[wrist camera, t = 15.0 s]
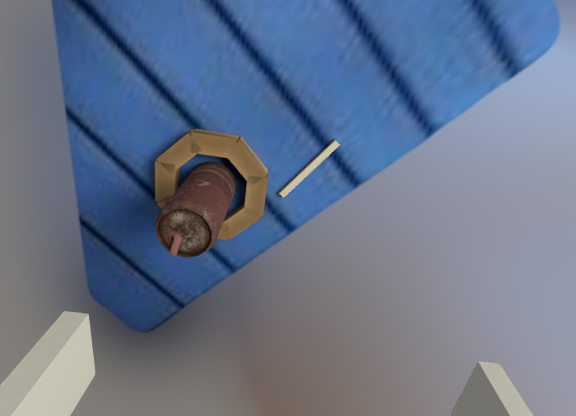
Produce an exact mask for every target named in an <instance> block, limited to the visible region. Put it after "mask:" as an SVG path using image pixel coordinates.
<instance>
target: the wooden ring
mask: <svg viewBox="0 0 576 416" xmlns="http://www.w3.org/2000/svg"><path fill="white" fill-rule="evenodd" d="M238 138H239V135H234V134H227V133H220V132H214V131H207V130H200V129H195V130H191V131H190V132H189V133H188V134H186V135H185V136H184V137H183V138H181V139H180V140H179V141H178V142H177V143H175V144H174V145H173V146H172V147H170V148H169V149H168V150H167V151H165V152H164V153H163V154H162V155H160V156H159V157H158V158H157V159H156V161H155V201H157V202H158V203H157V205H158V206H159V207H160V208H161V209H162V208H163V207H164V206H165V204H166V203H167V202H168V201H169V199H170V198H171V197H172V196H173V194H174V193H175V192H176V191H177V190H178V188H179V187H180V167H181V166H182V165H183V164H185V163H186V162H187V161H189V160H190V159H191V158H192V157H194V156H195V155H196V154H203V155H210V156H217V157H224V158H228V159H229V160H230V161H231V162H232V164H233V165H234V166H235V167H236V168H237V170H238V171H239V172H240V173H241V174H242V176H243V177H244V178H245V179H246V180H247V188H246V197H245V203H244V204H242V205H241V206H239V207H238V208H236V209H235V210H234V211H232V212H231V213H229V214H228V215H226V217H225V219H224V222H223V224H222V227H221V229H220V232H219V234H218V237H217V238H218V239H225V240H228V238H229V239H231V238H233V237H234V236H236V235H237V234H239V233H240V232H242V231H243V230H245V229H246V228H248V227H249V226H251V225H252V224H254V223H255V222H257V221H258V220H260V219H261V217H262V216H263V211H264V204H265V197H266V189H267V182H268V174H269V173H268V169H267V168H266V167H265V166H264V164H263V163H262V162H261V161H260V159H259V158H258V157H257V156H256V154H255V153H254V152H253V151H252V149H251V148H250V147H249V146H248V144H247V143H246V142H245V141H244V139H243V138H242V137H241V138H239V139H238Z"/></svg>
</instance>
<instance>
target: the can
mask: <svg viewBox="0 0 576 416" xmlns="http://www.w3.org/2000/svg"><path fill="white" fill-rule="evenodd" d="M235 191H236V180H235V178H234V175H233V174H232V172H231V171H230V170H229V169H228V168H227V167H225V166H224V165H222V164H219V163H216V162H206V163H202V164H200V165H198V166H197V167H196V168H195V169H194V170H193V171H192V172H191V173H190V175H189V176H188V177H187V178H186V180H185V181H184V182H183V183H182V185H181V186H180V187H179V188H178V190H177V191H176V192H175V193H174V194H173V196H172V197H171V198H170V199H169V201H168V202H167V203H166V204H165V206H164V207H163V208H162V209H161V211H160V212H159V214H158V215H157V219H156V234H157V238H158V240H159V242H160V243H161V245H162V246H163V247H164V248H165V249H166V250H167V251H169V252H170V255H171V256H176V255H177V256H181V257H194V256H198V255H200V254H202V253H204V252H206V251H207V250H209V249H210V248H211V247H212V246H213V244H214V243H215V242H216V239H217V237H218V234H219V232H220V229H221V227H222V224H223V222H224V219H225V217H226V214H227V212H228V209H229V206H230V204H231V201H232V199H233V196H234V194H235Z"/></svg>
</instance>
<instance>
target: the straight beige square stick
mask: <svg viewBox="0 0 576 416" xmlns="http://www.w3.org/2000/svg"><path fill="white" fill-rule="evenodd" d="M338 146H339V143H338V142H337V141H336V140H334V141H333V142H332V143H330V144H329V145H328V146H327V147H326V148H325V149H324V150H323V151H322V152H321V153H320V154H319V155H318V156H317V157H316V158H315V159H314V160H313V161H312V162H310V163H309V164H308V165H307V166H306V167H305V168H304V169H303V170H302V171H301V172H300V173H299V174H298V175H297V176H296V177H295V178H294V179H293V180H292V181H290V182H289V183H288V184H287V185H286V186H285V187H284V188H283V189H282V190H281V191H280V192H279V194H280V195H281V196H282V197H283V198H284V197H285V196H286V195H287V194H288V193H289V192H290V191H291V190H292V189H293V188H294V187H295V186H297V185H298V184H299V183H300V182H301V181H302V180H303V179H304V178H305V177H306V176H307V175H308V174H309V173H310V172H311V171H313V170H314V169H315V168H316V167H317V166H318V165H319V164H320V163H321V162H322V161H323V160H324V159H325V158H326V157H327V156H329V155H330V154H331V153H332V152H333V151H334V150H335V149H336V148H337V147H338Z"/></svg>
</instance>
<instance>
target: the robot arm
mask: <svg viewBox="0 0 576 416" xmlns="http://www.w3.org/2000/svg"><path fill="white" fill-rule="evenodd" d="M94 375H95V367H94V358H93V350H92V340H91V333H90V323H89V315H88V314H83V313H75V312H67V311H64V312H63V313H62V314H61V316H60V317H59V318H58V319H57V320H56V322H55V323H54V324H53V325H52V326H51V327H50V328H49V330H48V331H47V332H46V333H45V334H44V335H43V337H42V338H41V339H40V340H39V341H38V342H37V343H36V345H35V346H34V347H33V348H32V349H31V351H30V352H29V353H28V354H27V355H26V356H25V358H24V359H23V360H22V361H21V362H20V363H19V364H18V366H17V367H16V368H15V369H14V370H13V371H12V373H11V374H10V375H9V376H8V377H7V378H6V380H5V381H4V382H3V383H2V384H1V385H0V416H70V415H71V413H72V412H73V410H74V408H75V407H76V405H77V403H78V402H79V400H80V398H81V397H82V395H83V393H84V392H85V390H86V388H87V387H88V385H89V384H90V382H91V380H92V378H93V377H94ZM451 416H533V415H532V413H531V412H530V410H529V409H528V407H527V406H526V404H525V403H524V401H523V399H522V398H521V397H520V395H519V393H518V392H517V391H516V389H515V387H514V386H513V384H512V383H511V381H510V380H509V378H508V376H507V375H506V374H505V372H504V370H503V369H502V367H501V366H500V364H496V363H487V362H477V364H476V366H475V368H474V370H473V372H472V374H471V376H470V378H469V379H468V381H467V383H466V385H465V387H464V389H463V391H462V393H461V395H460V397H459V399H458V401H457V402H456V405H455V406H454V408H453V410H452V412H451Z"/></svg>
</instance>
